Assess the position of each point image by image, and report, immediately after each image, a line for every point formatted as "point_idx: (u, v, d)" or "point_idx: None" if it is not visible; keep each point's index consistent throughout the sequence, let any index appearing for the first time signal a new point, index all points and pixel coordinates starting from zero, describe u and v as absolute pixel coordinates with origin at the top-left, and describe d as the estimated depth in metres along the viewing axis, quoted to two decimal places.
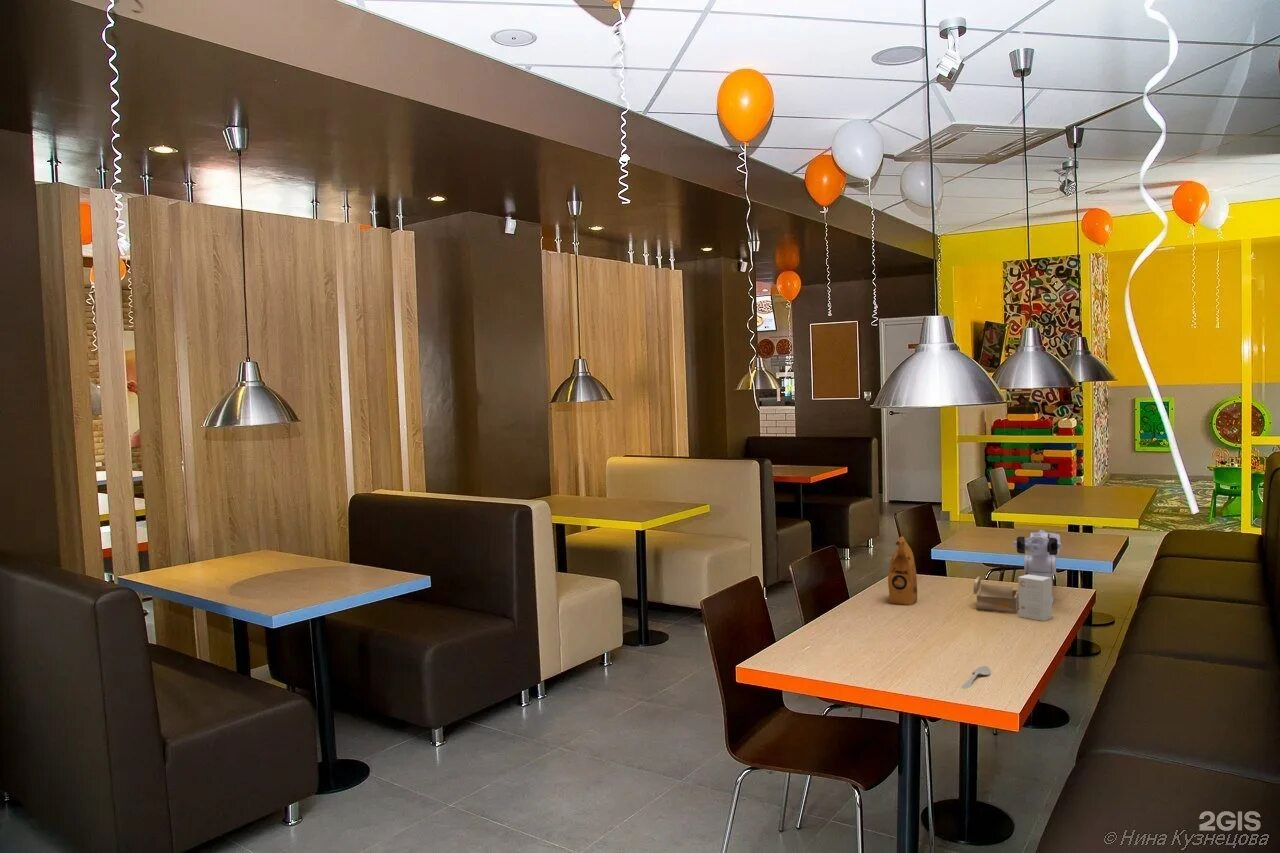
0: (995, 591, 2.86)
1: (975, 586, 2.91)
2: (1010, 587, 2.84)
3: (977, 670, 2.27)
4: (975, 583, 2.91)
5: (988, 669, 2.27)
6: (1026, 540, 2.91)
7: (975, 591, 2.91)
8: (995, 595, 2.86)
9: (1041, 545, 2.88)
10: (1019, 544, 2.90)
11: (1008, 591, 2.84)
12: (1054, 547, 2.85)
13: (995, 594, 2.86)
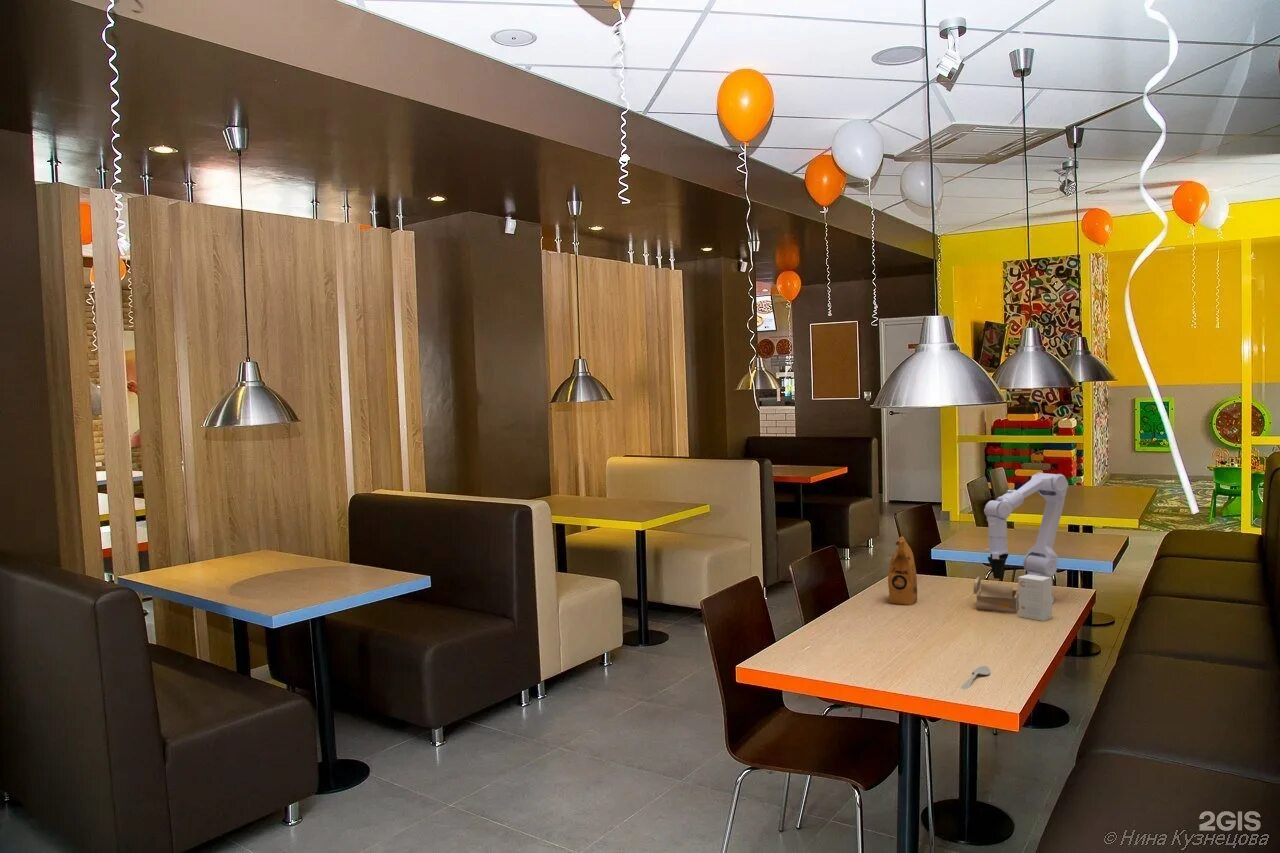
0: (995, 591, 2.86)
1: (975, 586, 2.91)
2: (1010, 587, 2.84)
3: (977, 670, 2.27)
4: (975, 583, 2.91)
5: (988, 669, 2.27)
6: None
7: (975, 591, 2.91)
8: (995, 595, 2.86)
9: None
10: None
11: (1008, 591, 2.84)
12: None
13: (995, 594, 2.86)
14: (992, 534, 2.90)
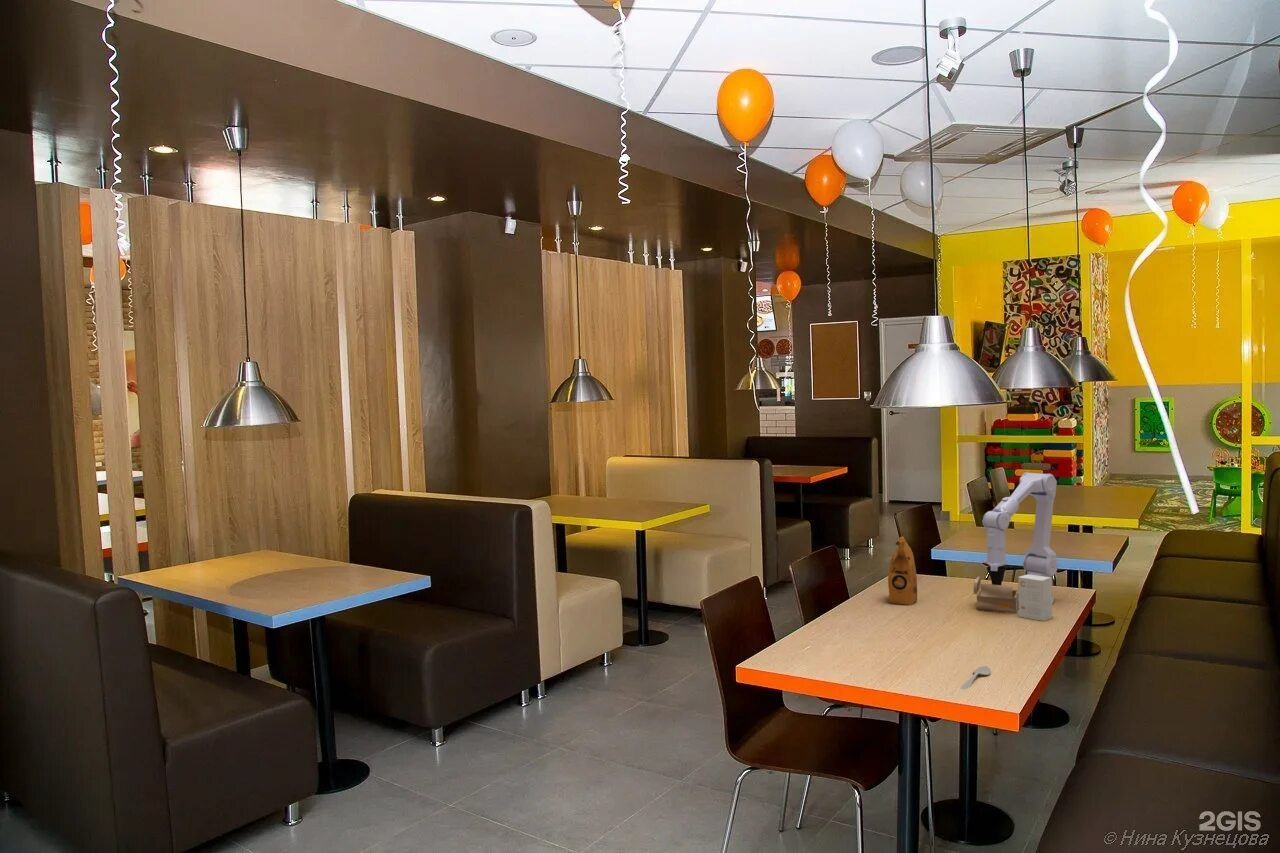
0: (995, 591, 2.86)
1: (975, 586, 2.91)
2: (1010, 587, 2.83)
3: (977, 670, 2.27)
4: (975, 583, 2.91)
5: (988, 669, 2.27)
6: None
7: (975, 591, 2.91)
8: (995, 595, 2.86)
9: None
10: None
11: (1008, 591, 2.84)
12: (996, 570, 2.85)
13: (995, 594, 2.85)
14: (991, 545, 2.85)
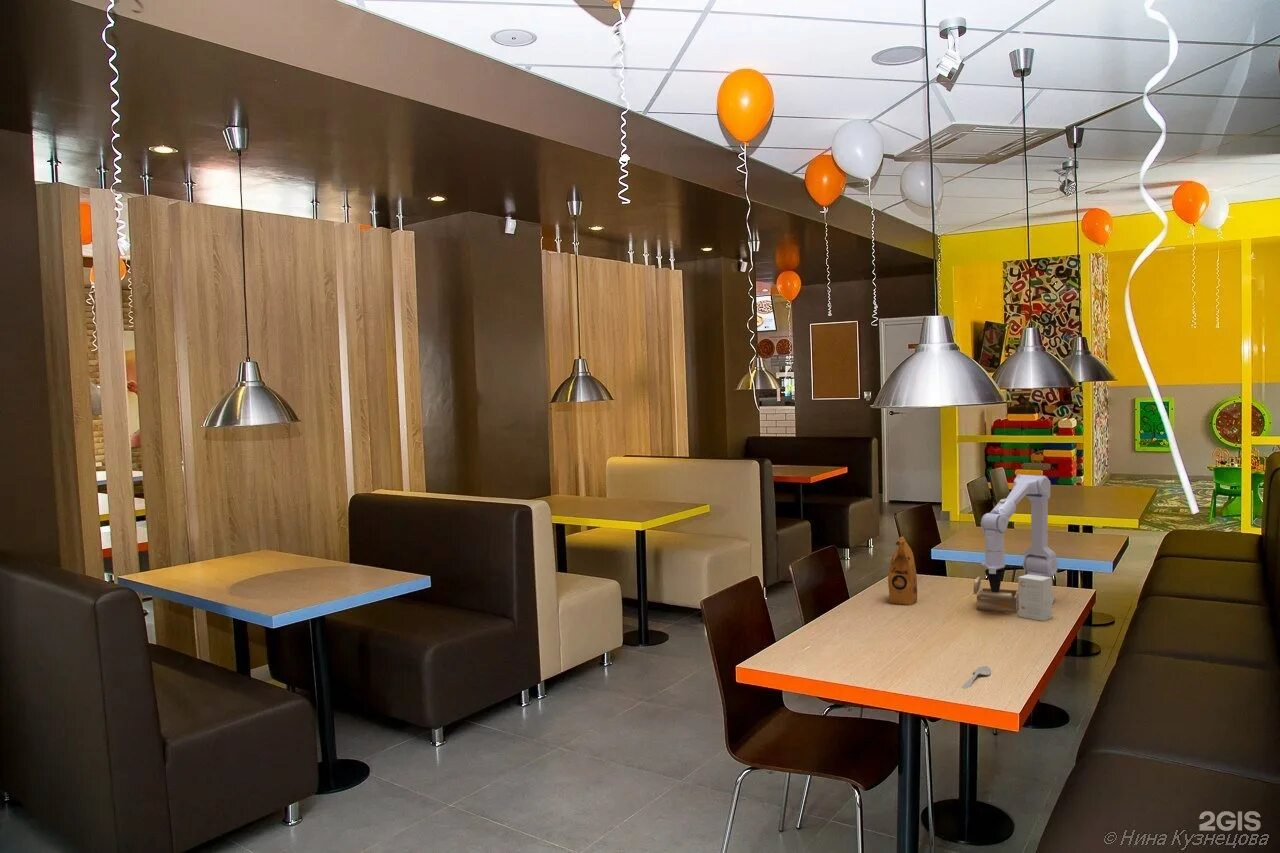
0: (994, 597, 2.85)
1: (975, 586, 2.91)
2: (1009, 596, 2.81)
3: (977, 670, 2.27)
4: (975, 583, 2.91)
5: (988, 669, 2.27)
6: None
7: (975, 591, 2.91)
8: (995, 599, 2.86)
9: None
10: None
11: (1008, 597, 2.82)
12: None
13: (995, 598, 2.85)
14: (990, 548, 2.81)
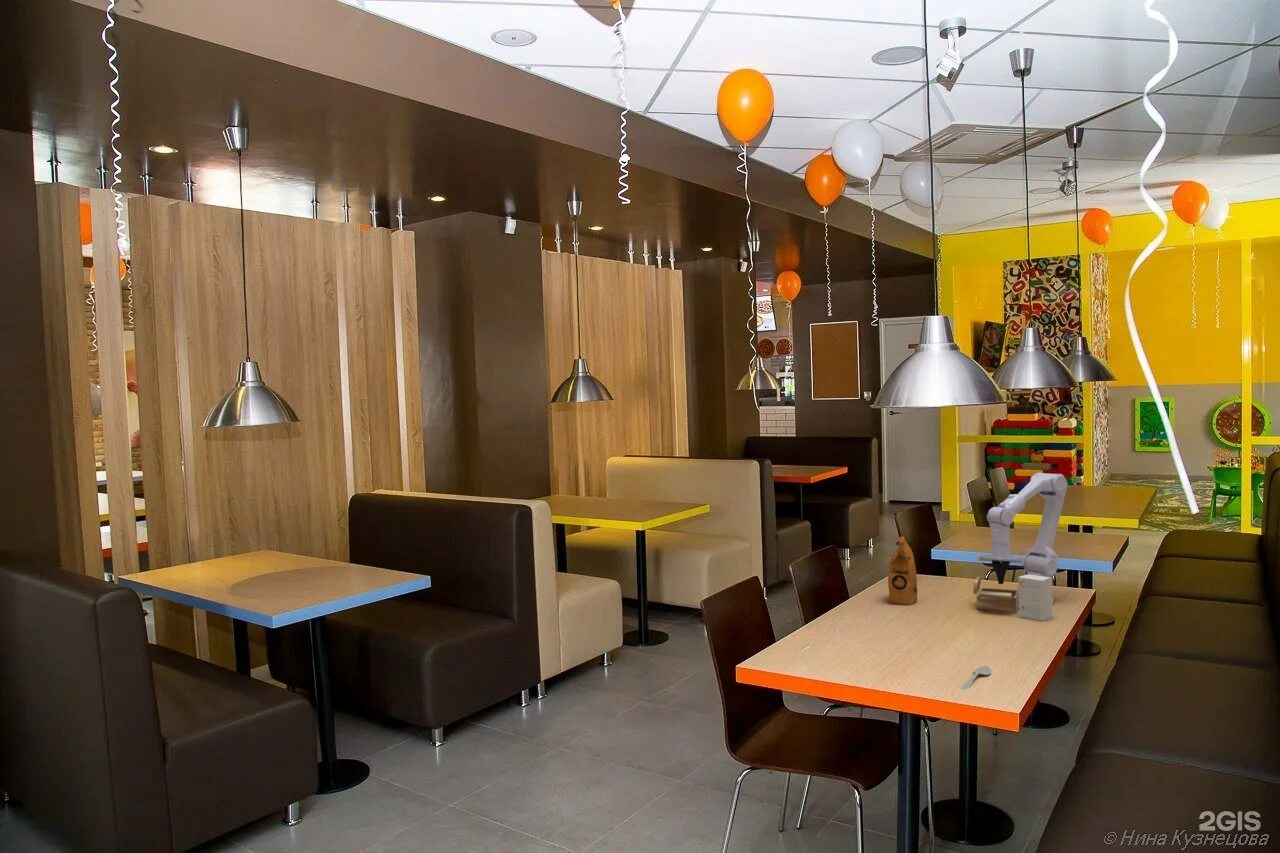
0: (994, 597, 2.85)
1: (975, 586, 2.91)
2: (1009, 596, 2.81)
3: (977, 670, 2.27)
4: (975, 583, 2.91)
5: (988, 669, 2.27)
6: None
7: (975, 591, 2.91)
8: (995, 599, 2.86)
9: None
10: None
11: (1008, 597, 2.82)
12: None
13: (995, 598, 2.85)
14: (995, 541, 2.89)
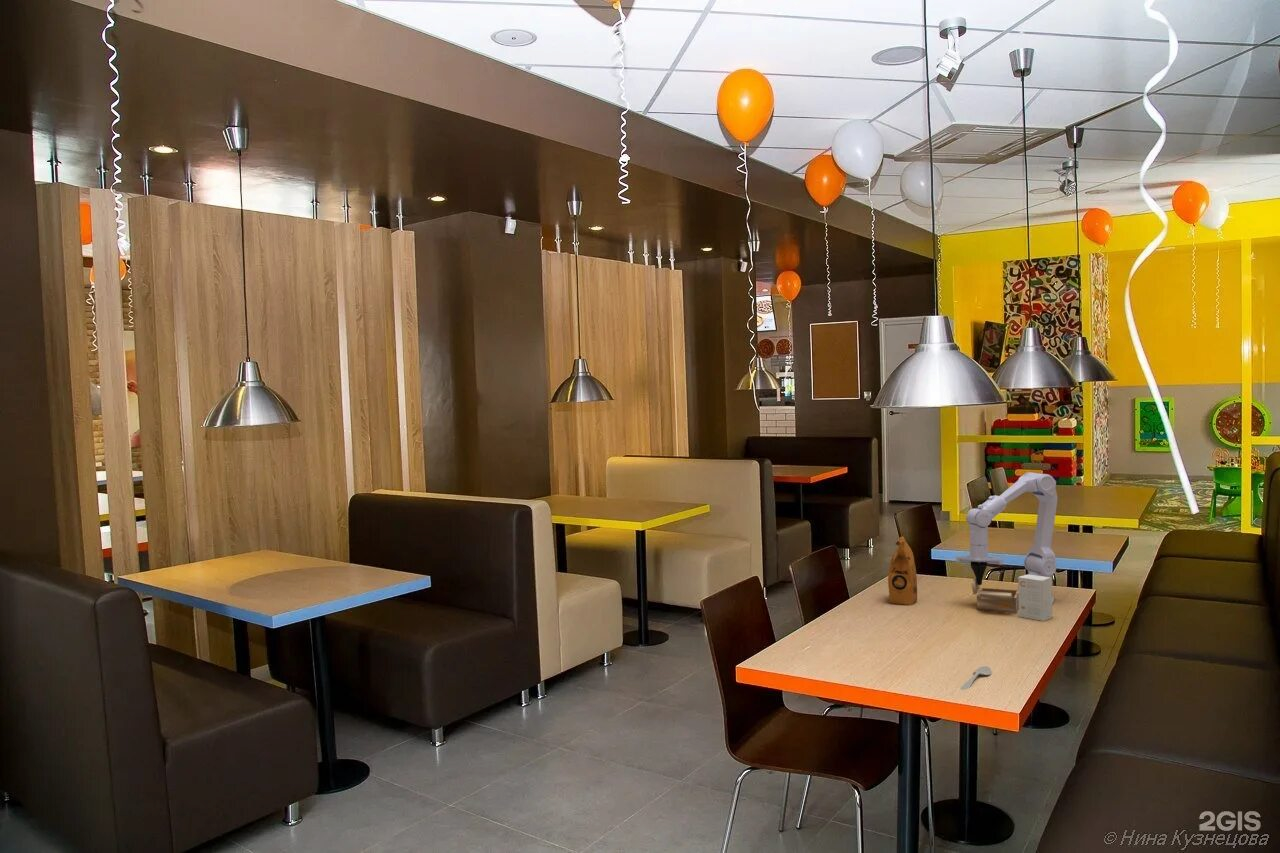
0: (994, 597, 2.85)
1: (973, 586, 2.91)
2: (1009, 596, 2.81)
3: (978, 670, 2.27)
4: (972, 583, 2.91)
5: (989, 669, 2.27)
6: None
7: (974, 591, 2.91)
8: (995, 599, 2.86)
9: None
10: None
11: (1008, 597, 2.82)
12: None
13: (995, 598, 2.85)
14: (972, 542, 2.93)
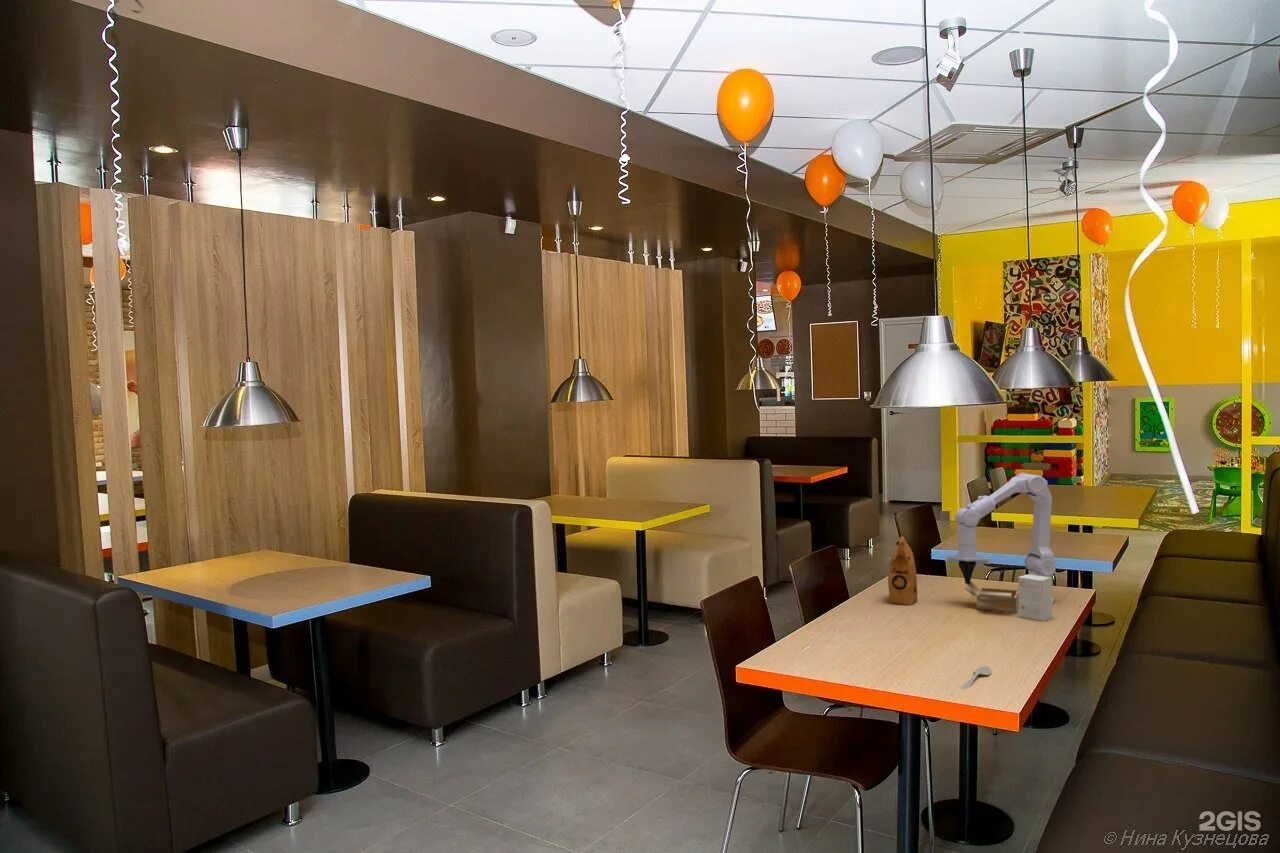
0: (994, 597, 2.85)
1: (969, 590, 2.92)
2: (1009, 596, 2.81)
3: (978, 670, 2.27)
4: (966, 588, 2.92)
5: (989, 669, 2.27)
6: None
7: (973, 593, 2.91)
8: (995, 599, 2.86)
9: None
10: None
11: (1008, 597, 2.82)
12: None
13: (995, 598, 2.85)
14: (959, 541, 2.95)
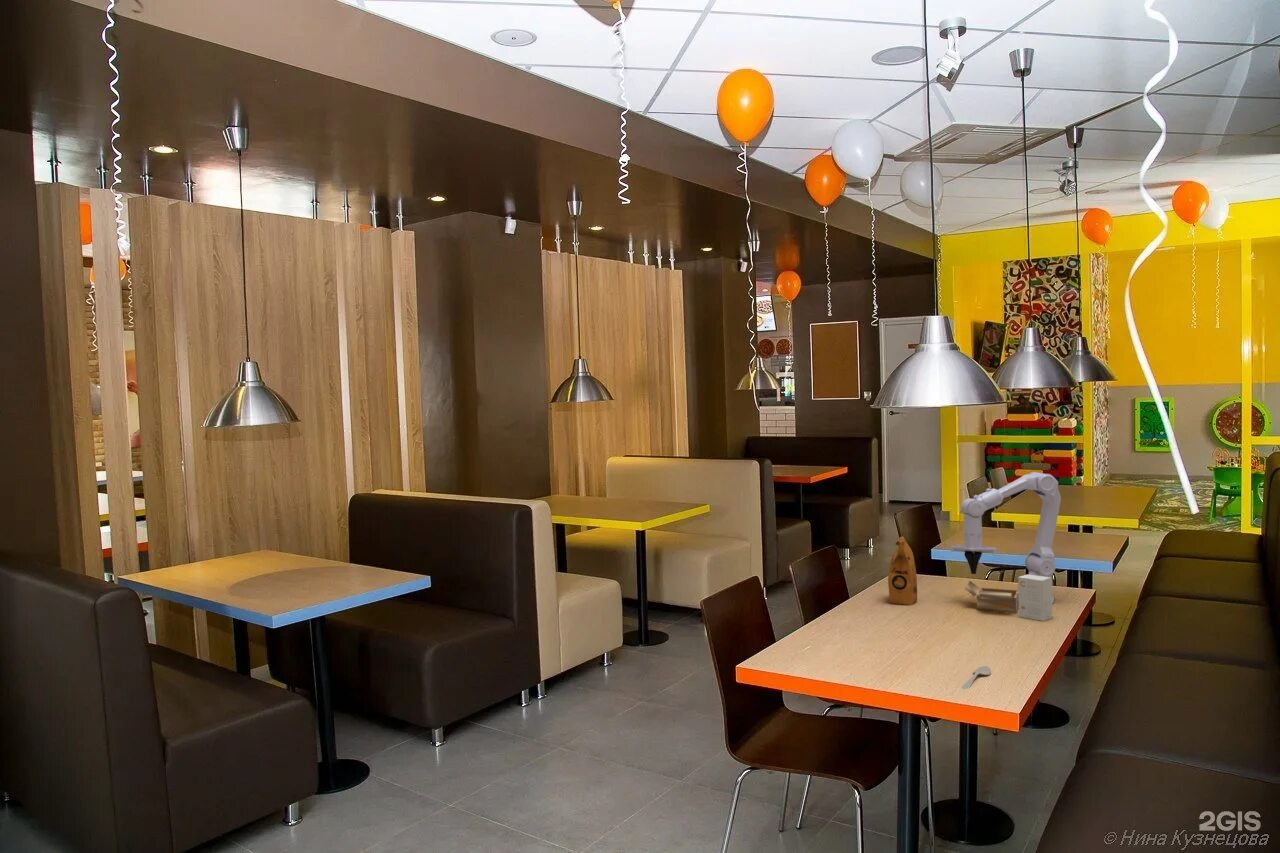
0: (994, 597, 2.85)
1: (969, 590, 2.92)
2: (1009, 596, 2.81)
3: (977, 670, 2.27)
4: (966, 588, 2.92)
5: (988, 669, 2.27)
6: None
7: (973, 593, 2.91)
8: (995, 599, 2.86)
9: None
10: None
11: (1008, 597, 2.82)
12: None
13: (995, 598, 2.85)
14: (965, 531, 2.97)
